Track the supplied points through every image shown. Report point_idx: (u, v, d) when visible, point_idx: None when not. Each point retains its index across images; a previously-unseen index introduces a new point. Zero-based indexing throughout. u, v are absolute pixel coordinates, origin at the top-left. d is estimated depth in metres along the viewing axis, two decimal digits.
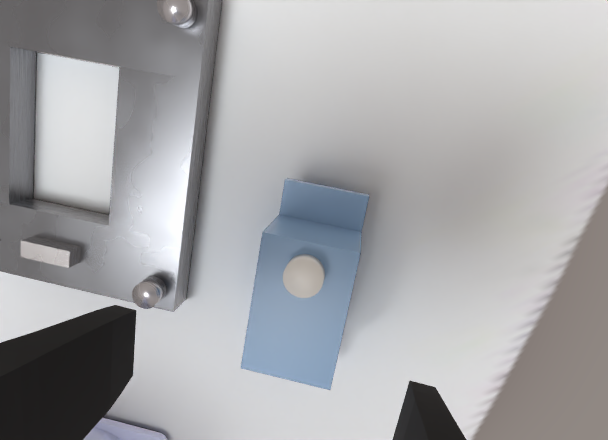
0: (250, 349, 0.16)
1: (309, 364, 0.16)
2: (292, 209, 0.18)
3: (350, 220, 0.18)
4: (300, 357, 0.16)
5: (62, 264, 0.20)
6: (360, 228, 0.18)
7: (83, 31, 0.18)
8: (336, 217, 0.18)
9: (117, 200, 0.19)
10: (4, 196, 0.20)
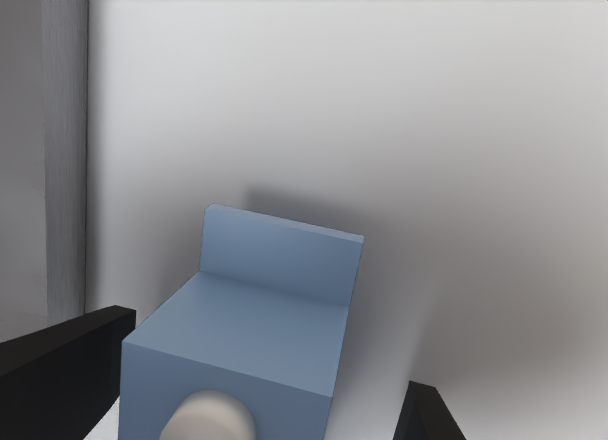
0: None
1: None
2: (221, 262, 0.10)
3: (328, 285, 0.09)
4: None
5: None
6: (347, 300, 0.09)
7: None
8: (302, 279, 0.09)
9: None
10: None
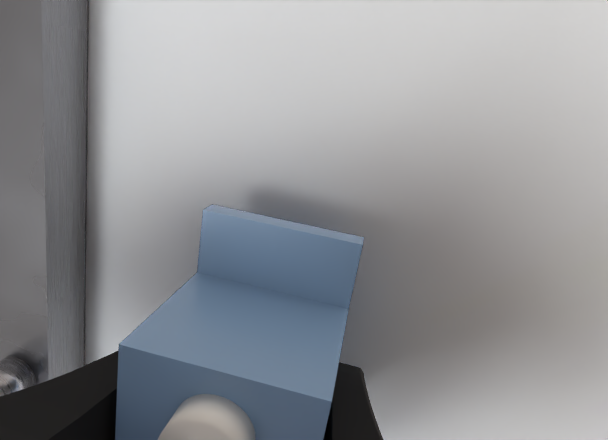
0: None
1: None
2: (220, 264, 0.10)
3: (327, 287, 0.09)
4: None
5: None
6: (346, 302, 0.09)
7: None
8: (301, 281, 0.09)
9: None
10: None
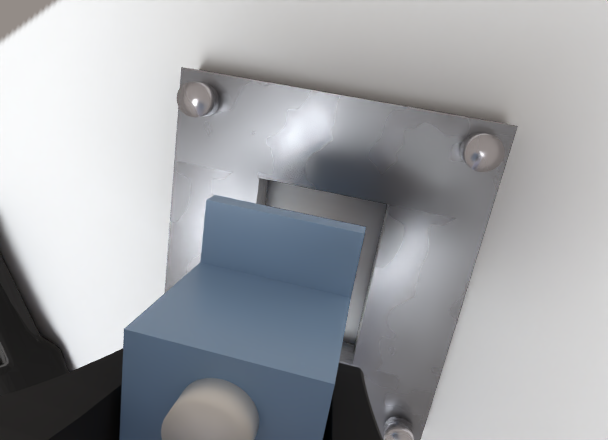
0: None
1: None
2: (223, 253, 0.10)
3: (329, 276, 0.09)
4: None
5: None
6: (348, 291, 0.09)
7: (350, 165, 0.16)
8: (303, 270, 0.09)
9: (366, 340, 0.17)
10: None
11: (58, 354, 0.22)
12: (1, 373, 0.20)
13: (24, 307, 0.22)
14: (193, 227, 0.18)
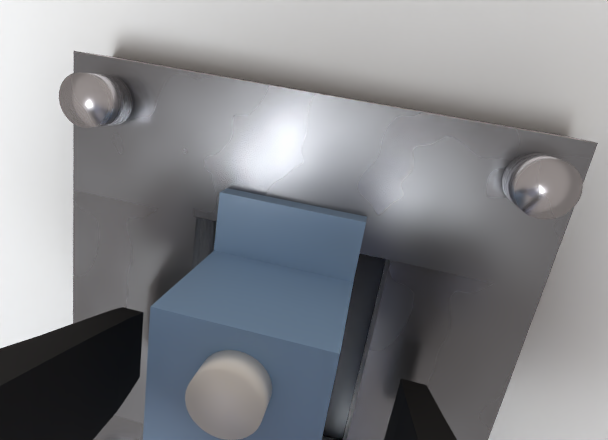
0: None
1: None
2: (235, 242, 0.10)
3: (333, 262, 0.10)
4: None
5: None
6: (351, 276, 0.10)
7: (330, 201, 0.10)
8: (309, 257, 0.10)
9: None
10: None
11: None
12: None
13: None
14: (106, 285, 0.12)
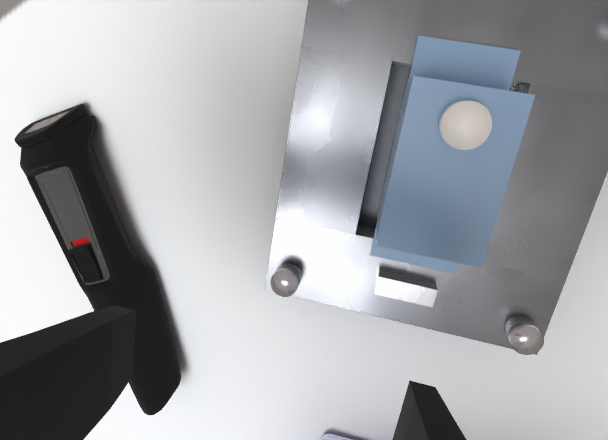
0: (388, 222, 0.14)
1: (458, 237, 0.14)
2: (425, 72, 0.16)
3: (495, 82, 0.15)
4: (448, 229, 0.14)
5: (425, 303, 0.18)
6: None
7: (491, 42, 0.15)
8: (478, 79, 0.15)
9: (493, 233, 0.17)
10: (350, 226, 0.18)
11: (153, 275, 0.22)
12: (102, 287, 0.20)
13: (121, 225, 0.21)
14: (316, 118, 0.17)
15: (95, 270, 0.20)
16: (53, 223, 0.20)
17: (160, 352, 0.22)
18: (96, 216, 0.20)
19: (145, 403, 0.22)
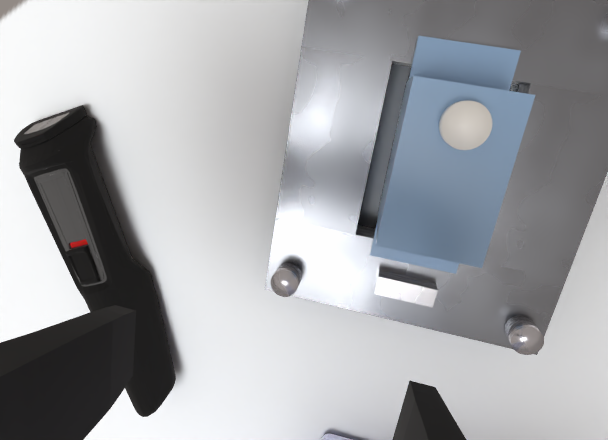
0: (388, 222, 0.14)
1: (458, 237, 0.14)
2: (425, 72, 0.16)
3: (495, 82, 0.15)
4: (448, 229, 0.14)
5: (425, 303, 0.18)
6: None
7: (491, 42, 0.15)
8: (478, 79, 0.15)
9: (493, 233, 0.17)
10: (351, 226, 0.18)
11: (150, 278, 0.22)
12: (99, 289, 0.20)
13: (119, 228, 0.21)
14: (316, 118, 0.17)
15: (93, 272, 0.20)
16: (51, 224, 0.20)
17: (156, 354, 0.22)
18: (95, 218, 0.20)
19: (139, 405, 0.22)
